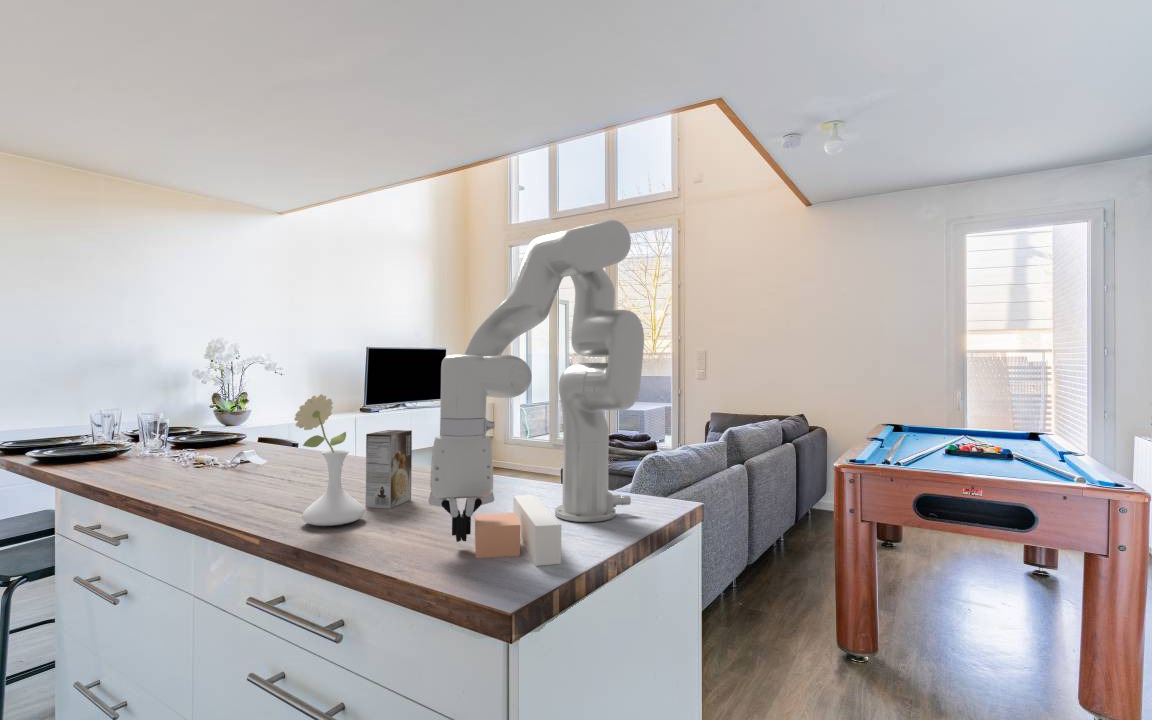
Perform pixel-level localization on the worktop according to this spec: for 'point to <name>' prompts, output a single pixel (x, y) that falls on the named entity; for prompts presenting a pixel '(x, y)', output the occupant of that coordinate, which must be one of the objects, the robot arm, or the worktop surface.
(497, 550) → the peach block
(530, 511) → the board
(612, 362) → the robot arm
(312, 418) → the flower in vase
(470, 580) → the worktop surface
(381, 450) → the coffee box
